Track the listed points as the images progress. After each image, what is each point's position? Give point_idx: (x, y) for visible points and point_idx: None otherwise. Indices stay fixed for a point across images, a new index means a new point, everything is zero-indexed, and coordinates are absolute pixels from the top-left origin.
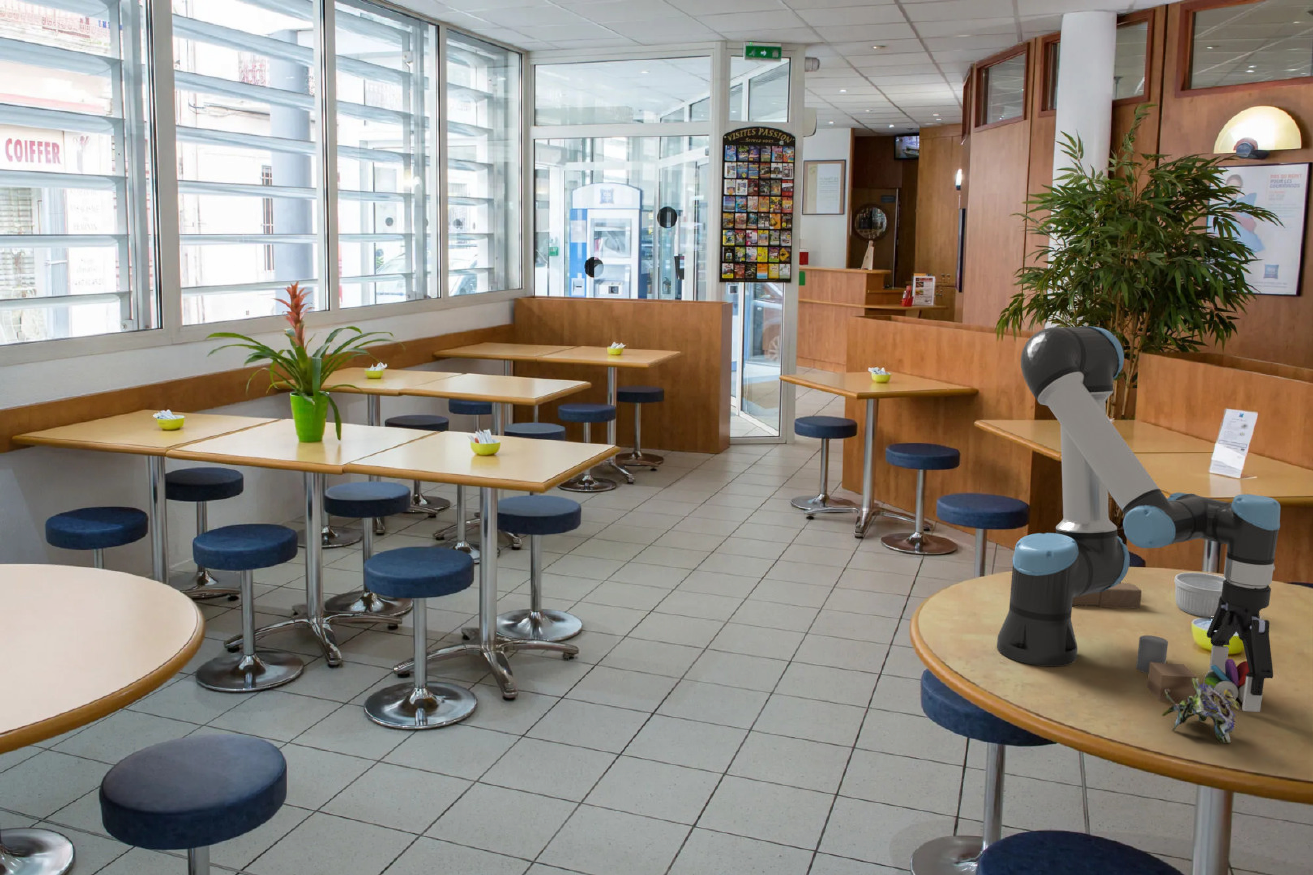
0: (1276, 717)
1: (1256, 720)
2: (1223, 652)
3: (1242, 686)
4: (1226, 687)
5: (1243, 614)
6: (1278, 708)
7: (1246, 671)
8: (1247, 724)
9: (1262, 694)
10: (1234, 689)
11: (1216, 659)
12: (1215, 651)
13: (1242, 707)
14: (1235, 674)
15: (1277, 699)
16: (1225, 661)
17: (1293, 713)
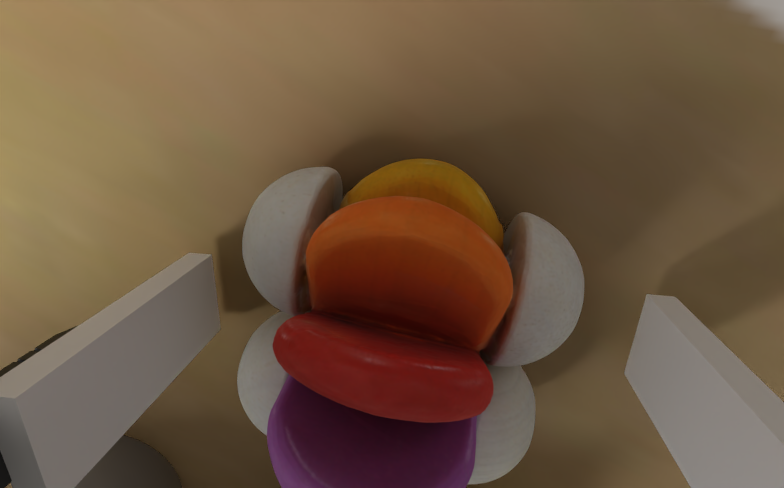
0: (706, 198)
1: (725, 336)
2: (72, 399)
3: (503, 365)
4: (515, 462)
5: None
6: (570, 102)
7: (480, 412)
8: None
9: (559, 236)
10: (527, 418)
11: (132, 395)
12: (82, 458)
13: (631, 381)
14: (474, 462)
15: (418, 20)
16: (127, 327)
17: (662, 34)
